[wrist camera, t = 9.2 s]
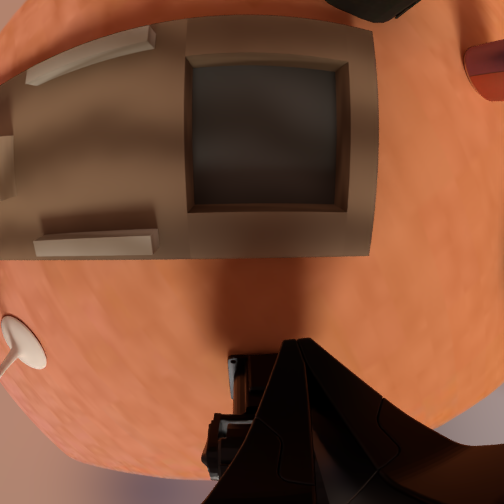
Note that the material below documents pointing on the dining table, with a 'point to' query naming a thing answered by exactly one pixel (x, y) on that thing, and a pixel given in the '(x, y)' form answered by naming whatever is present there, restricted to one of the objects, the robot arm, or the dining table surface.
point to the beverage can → (486, 69)
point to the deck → (196, 143)
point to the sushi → (374, 8)
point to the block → (7, 168)
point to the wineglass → (21, 345)
